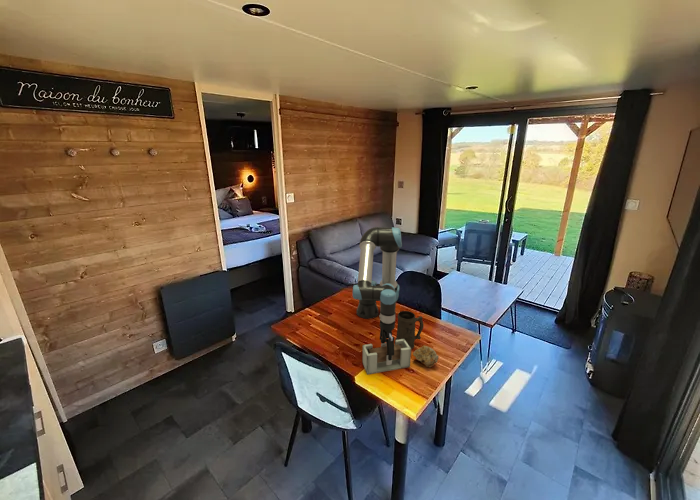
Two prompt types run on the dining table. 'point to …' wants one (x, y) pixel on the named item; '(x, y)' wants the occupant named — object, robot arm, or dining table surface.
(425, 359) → the rock
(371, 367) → the post bracket
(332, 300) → the dining table surface
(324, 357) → the dining table surface
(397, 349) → the rail
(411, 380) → the dining table surface
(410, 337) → the beer stein
